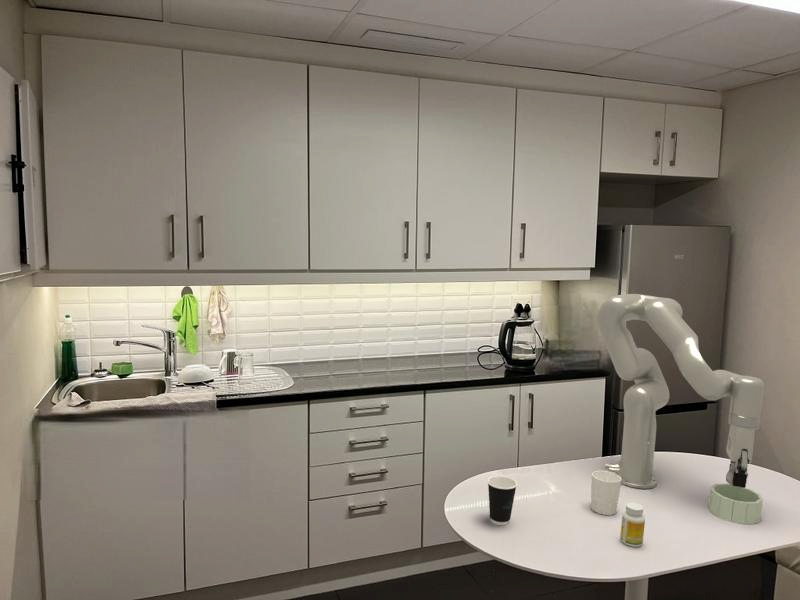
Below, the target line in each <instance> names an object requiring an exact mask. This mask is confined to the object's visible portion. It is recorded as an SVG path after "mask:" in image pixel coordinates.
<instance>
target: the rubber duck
mask: <svg viewBox="0 0 800 600" xmlns="http://www.w3.org/2000/svg"><path fill="white" fill-rule="evenodd" d="M730 464H731V463H730ZM735 464H736V461H734V463H732V464H731V466H730V465H729V467H730V471H729V470H728V471H727V472H726V474H725V481H726V482H727V483H726V484H730V485H732V486H733V484H732V483H733V474H734V472H735ZM739 466H741V464H738V467H739ZM748 477H749V472H747V478H748ZM747 481H748V479H747V480H746V483H747ZM735 487H736V486H735Z"/></svg>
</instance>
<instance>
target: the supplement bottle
mask: <svg viewBox="0 0 800 600" xmlns="http://www.w3.org/2000/svg"><path fill="white" fill-rule="evenodd" d="M643 513H644V507H643V506H642V505H641V504H639V503H637V502H628V503H627V504H626V506H625V510H624V512H623V513H622V517H621V524H620V525H621V526H620V533H619V534H620V537H619V538H620V539H619V540H620V542H621V543H622V544H624V545H625V546H628V547H632V548H640V547H641V546H643V541H644V533H645V525H646V518H645V515H644V514H643Z"/></svg>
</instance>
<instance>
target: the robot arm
mask: <svg viewBox="0 0 800 600" xmlns="http://www.w3.org/2000/svg"><path fill="white" fill-rule="evenodd" d="M683 314H684V313H683V308H682V306H681V304H680V302H678V301H677V300H675V299H672V298H669V297H662V296H661V297H660V296H659V297H658V296H654V295H648V294H639V293H626V294H618V295H613V296H611V297H609V298H607V299H606V300H605V301H604V302H603V303H602V304H601V305H600V307H599V309H598V312H597V316H596V317H597V318H596V323H597V327H598V331H599V333H600V335H601V337H602V339H603V342H604V343H605V346H606V349H607V351H608V354H609V357H610V360H611V362H612V364H613V367H614V369H615V373H616V374H617V376H618V377H619V378H621V379H622V380H624V381H627V382H628V381H629V382H630V381H634V384H633V385H632V386H630V387H629V388H627V390H626V391H625V392H624V396H623V415H624V416H623V417H624V418H623V420H624V421H623V433H622V443H621V444H622V445H621V456H620V461H619V463H613V464H612V463H610V462H605V466H604V468H605V469H606V470H608V472H612V473H615V474H617V475H619V476H620V477H621V485H624V486H626V485H627V487H630V488H635V489H642V490H643V489H644V490H647V489H653V488H655V487H656V486H657V484H658V480H657V479H656V478H655V477H654V476H653V470H654V469H653V468H654V459H655V449H656V446H655V445H656V438H657V437H656V436H657V419H656V418H657V416H656V413H657V411H658V410H659V409H661V408H663V407H665V406H666V405H667V404H668V402H669V401H670V390H669V387H668V384H667V381H666V378H665V377H664V375H663V372H662V370H661V367H660V365H659V363H658V360H657V358H656V357H655V355H653V353H652V352H651V351H649V350H648V349H646V348H642V347H637V344H636V343H635V341H634V338H633V335H632V333H631V332H630V330H629V328H627V326H626V324H625V323H626V322H627V321H632V320H633V321H635V320H637V321H644V322H646V323H647V324H648V325H649V327H650V328H651V329H652V330H653V331H654V333H656V335H657V336H658V337H659V338H660V340H661V341H662V342H663V343H664V344H665V345H666V347H667V348H668V349H669V351H670V353H672V356H673V358H674V361H675V363H676V365H677V368H678V370H679V372H680V373H681V375H682V376H683V378H684V379H685V380H686V382H687V383H688V384H689V385H690V386H691V388H692V389H693V390H694V391H695V392H696V394H698V395H699V396H700V397H702V398H703V399H705V400H707V401H718V400H721V399H722V398H725V397H730V404H729V411H728V412H729V413H728V422H727V423H728V424H729V425H730V426H729V431H728V436H727V443H726V454H727V457H728V458H729V459H730V460H729V461H730V463H729V468H728V471H730V466H731V464H732V463H734V461H736V464H735V472H734V474H733V483H732V484H733V486H736V487H742V488H747V487H746V485H747V482H746V480H747V481H748V477H747V473H748V465H750V464H751V463H752V460H753V455H754V454H753V453H754V444H755V443H754V442H755V431H756V430H757V431H758V430H759V429H760V422H761V421H760V420H761V414H762V406H763V405H762V404H763V399H764V398H763V397H764V389H765V383H764V381H763V379H760V378H759V377H755V376H751V375H742V374H737V373H734V372H731V371H729V370H725V369H715V370H712V369H711V367H710V366H709V364H708V363H707V362H706V361H705V360H704V357H702V355H701V353H700V349H699V337H698V335H697V334H696V333H695V332H694V330H693V329H692V328H691V327H690V326H689V324H688V323H687V322H686V321H685V320H684V319H683V318H682V317H683ZM738 464H741V466H739V467H738Z"/></svg>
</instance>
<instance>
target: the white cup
mask: <svg viewBox="0 0 800 600" xmlns="http://www.w3.org/2000/svg"><path fill="white" fill-rule="evenodd" d="M621 485H622V483H621V477H620V476H619V475H617V474H615V472H610V471H609V470H608V471H606V470H595V471H593V472H592V473H591V484H590V486H591V490H590V491H591V492H590V497H591V498H590V499H591V503H590V504H591V505H590V507H591V510H592V511H593V512H594V511H595V513H596V512H597V514H599V515H602V514H603V516H613V514H614V515H615V514H616V513H617V511H618V504H619V499H620V493H621V492H620V491H621Z"/></svg>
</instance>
